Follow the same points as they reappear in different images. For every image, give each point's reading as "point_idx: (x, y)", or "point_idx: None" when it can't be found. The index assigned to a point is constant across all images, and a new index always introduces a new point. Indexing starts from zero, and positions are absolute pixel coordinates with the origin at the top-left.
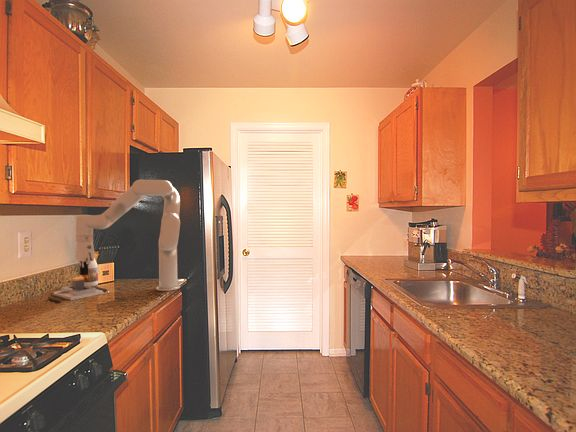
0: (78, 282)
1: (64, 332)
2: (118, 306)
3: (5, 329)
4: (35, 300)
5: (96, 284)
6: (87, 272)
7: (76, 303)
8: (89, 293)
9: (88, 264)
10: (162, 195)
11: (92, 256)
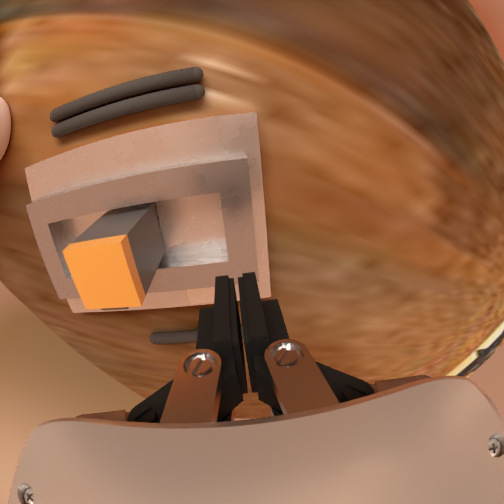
0: (144, 269)
1: (493, 332)
2: (496, 198)
3: None
4: (141, 363)
5: (4, 103)
6: (257, 289)
7: (347, 283)
8: (257, 200)
9: (352, 377)
10: None
11: (497, 447)
